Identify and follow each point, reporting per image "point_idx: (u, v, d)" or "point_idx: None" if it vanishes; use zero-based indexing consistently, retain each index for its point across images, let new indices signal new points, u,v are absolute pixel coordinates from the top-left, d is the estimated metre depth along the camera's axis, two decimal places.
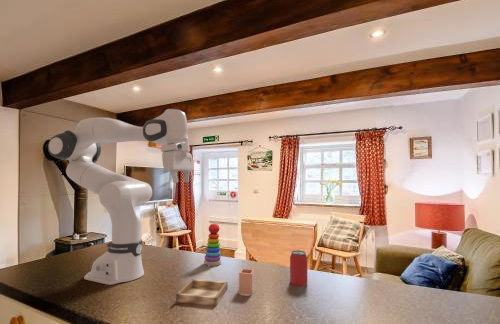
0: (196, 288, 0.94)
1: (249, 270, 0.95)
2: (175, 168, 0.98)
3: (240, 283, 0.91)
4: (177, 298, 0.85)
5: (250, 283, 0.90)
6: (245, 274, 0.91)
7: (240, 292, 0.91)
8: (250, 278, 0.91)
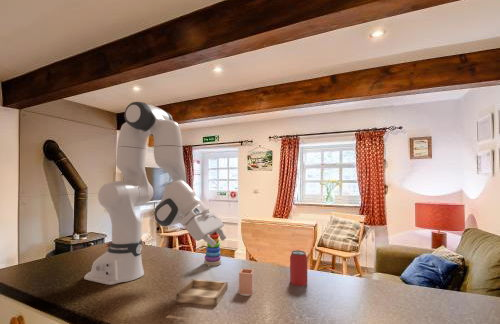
0: (196, 288, 0.94)
1: (249, 270, 0.95)
2: (205, 232, 0.90)
3: (240, 283, 0.91)
4: (177, 298, 0.85)
5: (250, 283, 0.90)
6: (245, 274, 0.91)
7: (240, 292, 0.91)
8: (250, 278, 0.91)
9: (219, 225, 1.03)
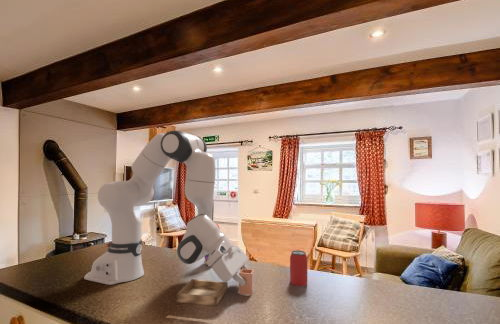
0: (196, 288, 0.94)
1: (249, 270, 0.95)
2: (233, 273, 0.86)
3: None
4: (177, 298, 0.85)
5: (250, 283, 0.90)
6: (245, 274, 0.91)
7: (240, 292, 0.91)
8: (250, 278, 0.91)
9: (244, 260, 0.99)
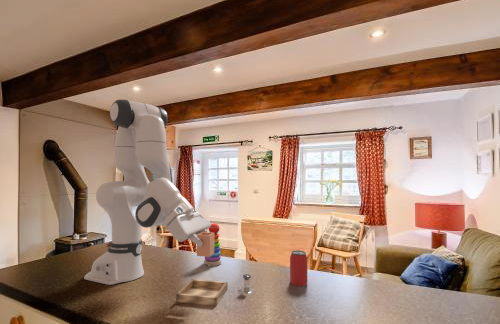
0: (196, 288, 0.94)
1: (209, 233, 0.92)
2: (189, 232, 0.84)
3: None
4: (177, 298, 0.85)
5: (208, 245, 0.88)
6: (203, 236, 0.88)
7: (198, 254, 0.88)
8: (208, 240, 0.88)
9: (206, 225, 0.96)
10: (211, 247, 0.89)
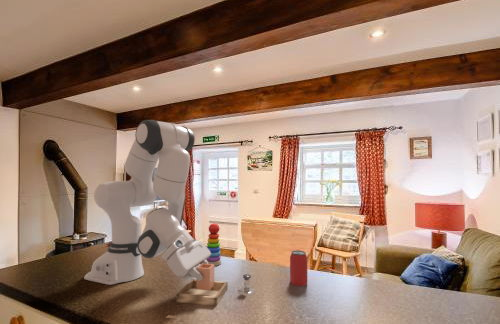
0: (196, 288, 0.94)
1: (209, 265, 0.92)
2: (188, 267, 0.83)
3: None
4: (177, 298, 0.85)
5: (208, 278, 0.87)
6: (203, 269, 0.88)
7: (198, 288, 0.88)
8: (208, 273, 0.87)
9: (205, 255, 0.96)
10: (211, 280, 0.89)
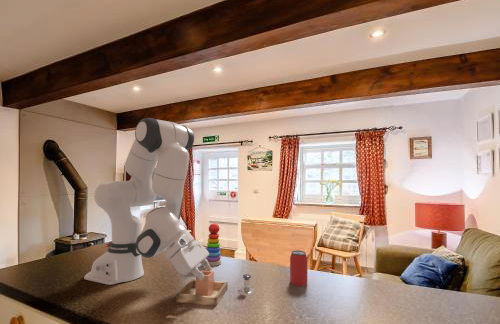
0: None
1: (208, 272, 0.92)
2: (193, 266, 0.84)
3: (197, 285, 0.88)
4: (177, 298, 0.85)
5: (206, 286, 0.87)
6: None
7: None
8: (206, 280, 0.87)
9: (205, 255, 0.97)
10: (210, 287, 0.89)
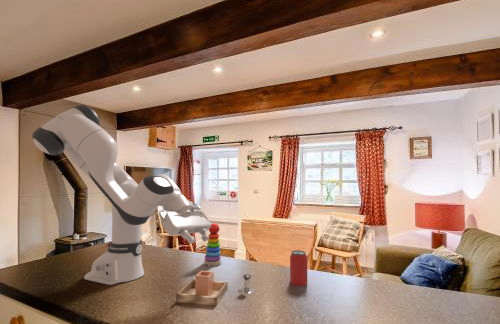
0: None
1: (208, 273, 0.91)
2: None
3: (196, 286, 0.88)
4: (177, 298, 0.85)
5: (206, 286, 0.87)
6: (201, 277, 0.88)
7: None
8: (206, 281, 0.87)
9: None
10: (210, 288, 0.89)
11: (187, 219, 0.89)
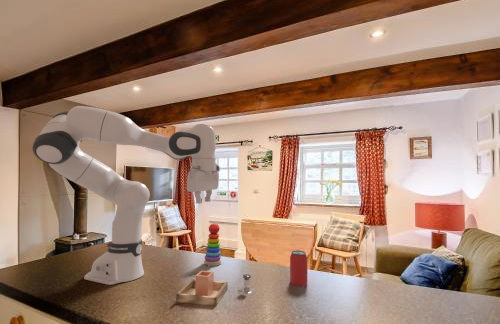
0: None
1: (208, 273, 0.91)
2: None
3: (196, 286, 0.88)
4: (177, 298, 0.85)
5: (206, 286, 0.87)
6: (201, 277, 0.88)
7: None
8: (206, 281, 0.87)
9: None
10: (210, 288, 0.89)
11: (206, 181, 0.99)
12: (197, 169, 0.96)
